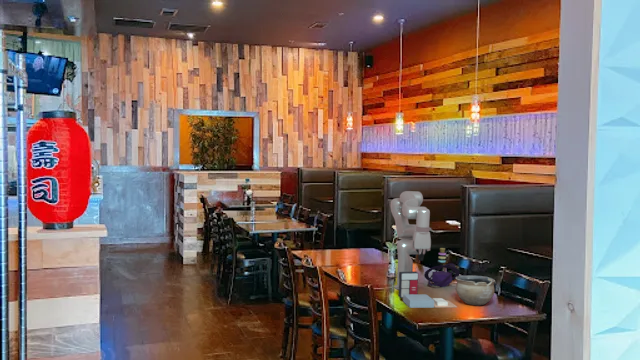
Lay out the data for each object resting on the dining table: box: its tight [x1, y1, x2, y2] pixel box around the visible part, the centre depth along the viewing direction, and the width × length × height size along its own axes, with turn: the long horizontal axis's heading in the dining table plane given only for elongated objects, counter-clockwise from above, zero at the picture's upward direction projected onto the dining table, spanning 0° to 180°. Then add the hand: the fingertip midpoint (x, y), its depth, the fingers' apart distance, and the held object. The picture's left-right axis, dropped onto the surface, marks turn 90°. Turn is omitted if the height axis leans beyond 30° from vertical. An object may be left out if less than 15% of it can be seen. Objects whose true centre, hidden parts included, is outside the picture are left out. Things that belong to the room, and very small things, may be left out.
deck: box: [402, 293, 435, 309], centre depth 320 cm, size 14×14×4 cm
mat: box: [434, 299, 458, 308], centre depth 322 cm, size 14×13×1 cm
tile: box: [431, 297, 448, 306], centre depth 322 cm, size 9×6×2 cm, turn 7°
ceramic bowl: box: [455, 275, 496, 306], centre depth 326 cm, size 22×22×15 cm
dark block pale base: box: [398, 271, 419, 299], centre depth 337 cm, size 11×4×15 cm, turn 101°
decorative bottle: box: [423, 247, 460, 288], centre depth 370 cm, size 22×21×25 cm
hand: (420, 260), depth 330 cm, fingers closed
